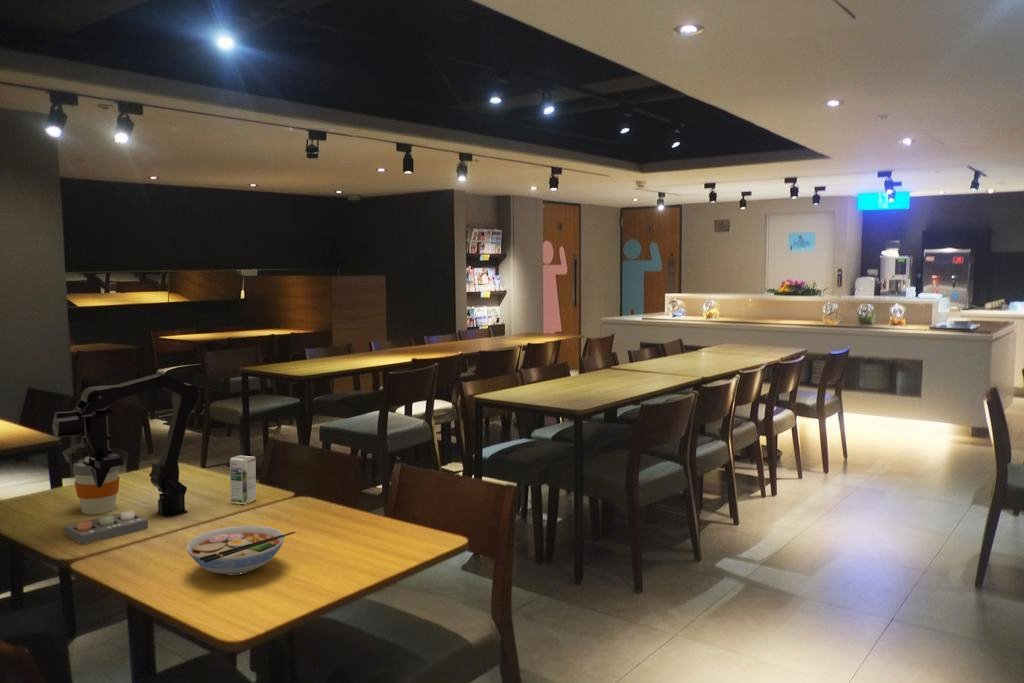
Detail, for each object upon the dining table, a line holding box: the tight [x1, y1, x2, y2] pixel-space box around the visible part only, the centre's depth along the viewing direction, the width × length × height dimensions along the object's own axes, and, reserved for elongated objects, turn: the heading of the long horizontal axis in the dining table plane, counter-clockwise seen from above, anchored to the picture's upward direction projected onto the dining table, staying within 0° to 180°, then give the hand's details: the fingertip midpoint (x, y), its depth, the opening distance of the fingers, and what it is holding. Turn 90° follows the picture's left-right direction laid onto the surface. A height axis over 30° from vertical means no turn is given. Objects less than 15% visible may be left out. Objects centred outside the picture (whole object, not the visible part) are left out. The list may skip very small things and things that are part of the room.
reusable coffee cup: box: [72, 458, 121, 515], centre depth 234 cm, size 13×13×15 cm
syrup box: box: [229, 454, 257, 503], centre depth 243 cm, size 6×6×14 cm
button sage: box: [98, 515, 114, 527], centre depth 215 cm, size 4×4×3 cm
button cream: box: [120, 510, 136, 521], centre depth 220 cm, size 4×4×3 cm
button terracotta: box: [76, 520, 92, 532], centre depth 211 cm, size 4×4×3 cm
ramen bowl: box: [185, 524, 296, 575], centre depth 189 cm, size 25×23×8 cm
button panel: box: [64, 512, 149, 545], centre depth 215 cm, size 17×12×3 cm
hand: (99, 486), depth 217 cm, fingers closed
